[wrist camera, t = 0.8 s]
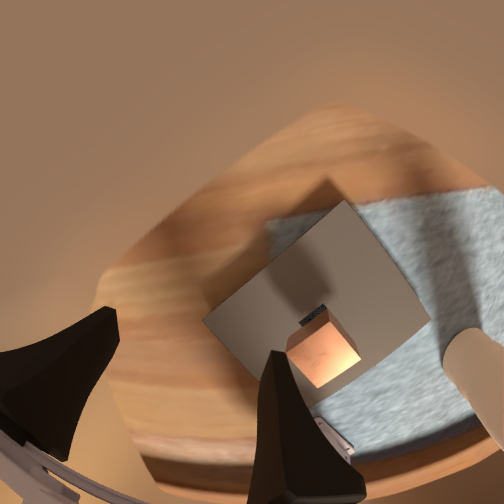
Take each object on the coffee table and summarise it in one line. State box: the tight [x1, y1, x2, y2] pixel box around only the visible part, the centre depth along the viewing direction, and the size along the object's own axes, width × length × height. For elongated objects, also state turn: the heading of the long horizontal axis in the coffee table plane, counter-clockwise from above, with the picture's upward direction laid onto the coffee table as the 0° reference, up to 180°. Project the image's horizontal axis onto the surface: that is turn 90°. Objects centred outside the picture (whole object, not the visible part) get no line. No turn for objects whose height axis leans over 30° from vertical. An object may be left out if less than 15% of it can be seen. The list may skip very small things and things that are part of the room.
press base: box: [202, 199, 431, 408], centre depth 26 cm, size 15×18×3 cm
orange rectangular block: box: [285, 309, 361, 388], centre depth 21 cm, size 4×4×6 cm
